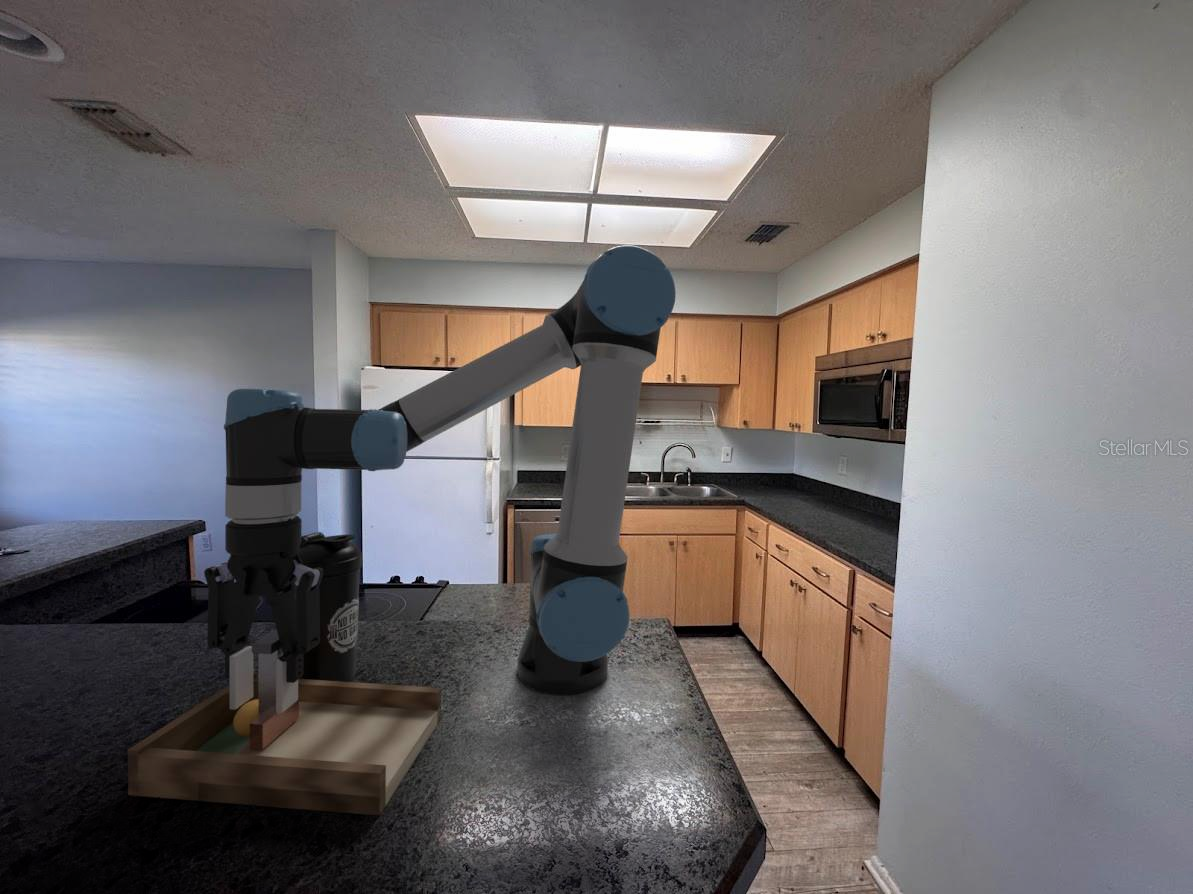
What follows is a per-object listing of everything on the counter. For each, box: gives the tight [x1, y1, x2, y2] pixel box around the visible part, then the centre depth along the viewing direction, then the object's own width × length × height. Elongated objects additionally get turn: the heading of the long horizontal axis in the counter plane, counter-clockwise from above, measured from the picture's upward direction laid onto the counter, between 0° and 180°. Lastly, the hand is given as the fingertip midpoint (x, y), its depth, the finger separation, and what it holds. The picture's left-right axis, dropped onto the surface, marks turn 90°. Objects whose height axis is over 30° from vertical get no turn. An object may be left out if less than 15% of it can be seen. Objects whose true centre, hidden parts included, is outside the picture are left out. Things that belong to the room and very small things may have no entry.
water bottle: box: [293, 531, 363, 682], centre depth 73 cm, size 10×10×23 cm
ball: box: [233, 699, 261, 737], centre depth 57 cm, size 4×4×4 cm
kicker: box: [250, 629, 299, 750], centre depth 57 cm, size 2×6×12 cm, turn 176°
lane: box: [127, 672, 442, 816], centre depth 57 cm, size 28×16×5 cm, turn 86°
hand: (264, 704), depth 57 cm, fingers open, 5 cm apart
